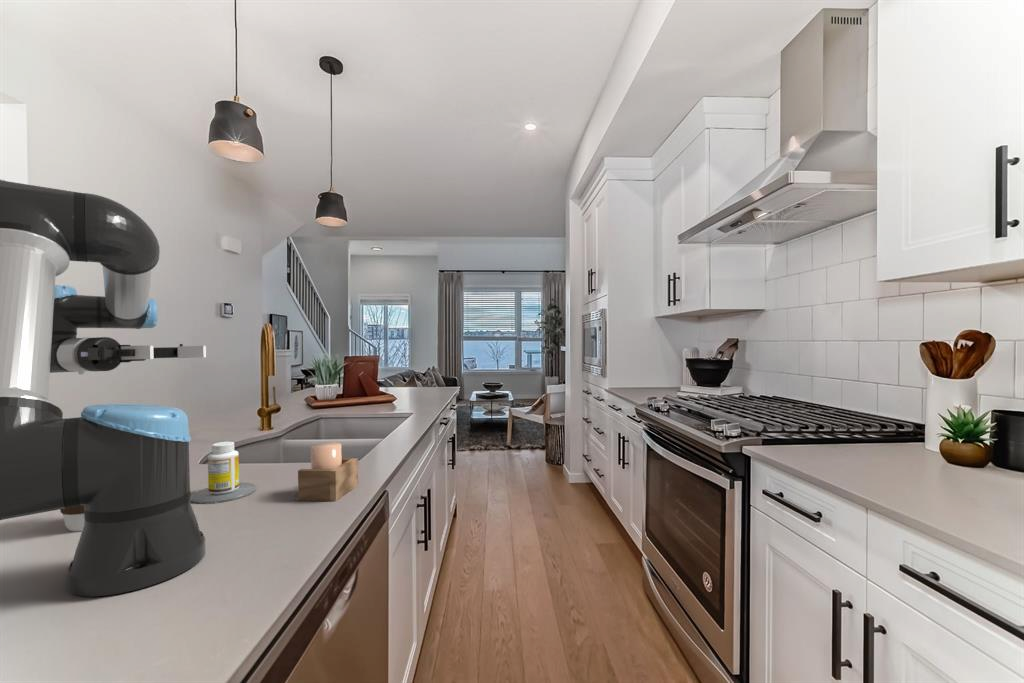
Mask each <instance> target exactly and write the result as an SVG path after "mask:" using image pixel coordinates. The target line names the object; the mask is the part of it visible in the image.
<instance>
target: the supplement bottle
mask: <svg viewBox="0 0 1024 683" xmlns="http://www.w3.org/2000/svg"><path fill="white" fill-rule="evenodd" d="M211 452H212V453H210V454H208V456H207V477H208V478H207V479H208V482H207V484H208V488H209V493H210V494H213V495H221V494H227V493H231V492H234V491H236V490H237V489H238V488H239V483H240V458H239V457H240V456H239V455H240V454H239V451H237V450H235V442H234V441H220V442H216V443H213V444H212V445H211Z"/></svg>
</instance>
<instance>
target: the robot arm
mask: <svg viewBox="0 0 1024 683" xmlns="http://www.w3.org/2000/svg"><path fill="white" fill-rule="evenodd" d="M160 252H161V251H160V245H159V240H158V238H157V236H156V234H155V233H154V231H153V230H152V228H151V227H150V226H149V225H148V224H147V222H145V221H144V219H143V218H142V217H140V216H139V215H138V214H137V213H135V212H134V211H132V209H130V208H128V207H127V206H126V205H124V204H122V203H120V202H118V201H115V200H113V199H111V198H108V197H105V196H102V195H100V194H99V195H98V194H93V193H88V192H87V193H86V192H79V191H78V192H77V191H72V190H66V189H60V188H59V189H58V188H53V187H47V186H41V185H33V184H26V183H20V182H14V181H8V180H5V179H0V521H3V520H10V519H14V518H20V517H26V516H30V515H31V516H32V515H37V514H41V513H46V512H52V511H58V510H60V509H65V508H69V507H75V506H81V505H84V528H83V531H81V535H80V537H79V540H78V542H77V545H76V546H77V547H76V549H75V553H74V556H73V560H72V561H71V562H70V563H69V566H68V568H67V572H66V590H67V591H68V593H70V594H72V595H76V596H80V597H104V596H111V595H117V594H118V595H119V594H123V593H129V592H132V591H133V592H134V591H135V590H140V589H144V588H147V587H150V586H154V585H157V584H159V583H162V582H164V581H168V580H169V579H172V578H174V577H177V576H178V575H180V574H183V573H185V572H186V571H189V570H190V569H192V568H194V566H196V565H197V564H199V563H200V561H202V560H203V558H204V557H205V555H206V538H205V535H204V533H203V531H201V529H200V527H199V524H198V520H197V517H196V515H195V513H194V510H193V507H192V505H191V503H192V502H191V501H190V496H191V477H190V476H191V474H190V473H191V472H190V471H191V470H190V442H191V440H192V436H190V429H189V418H188V416H187V415H188V414H186V412H185V411H184V410H182V409H180V408H178V407H174V406H169V405H168V406H167V405H156V404H139V403H138V404H137V403H135V404H133V403H132V404H130V403H109V404H92V405H86V406H84V407H83V409H82V411H81V412H80V417H71V418H63V415H64V414H63V412H64V411H63V409H62V407H61V406H60V405H59V404H57V403H55V402H53V401H51V400H50V399H49V392H50V390H49V388H50V374H52V373H55V374H56V373H77V372H78V373H77V374H78V375H84V374H85V372H110V371H112V370H114V369H116V368H118V367H119V365H121V363H131V362H142V361H143V362H144V361H146V360H153V359H173V358H174V359H193V358H194V359H195V358H197V359H198V358H207V345H183V343H179V346H176V347H171V346H169V347H154V345H131V344H120V343H119V342H118V341H117V339H114V338H112V337H106V336H102V337H99V336H98V337H97V336H96V337H78V336H77V335H78V332H77V331H78V329H133V330H134V329H135V330H140V329H152V328H156V326H157V325H158V302H157V301H156V299H154V298H150V289H151V276H152V270H153V269H154V268H155V267H156V266H157V265H158V263H159V261H160V254H161V253H160ZM70 261H71V262H82V263H83V262H84V263H89V262H90V263H98V264H100V265H101V266H102V274H103V288H104V295H103V296H98V295H86V294H85V295H84V294H78V293H77V289H76V288H75V287H73V286H69V285H61V284H58V285H57V284H56V277H58V276H60V275H62V274H63V273H65V272H66V271H67V269H68V268H69V266H70Z"/></svg>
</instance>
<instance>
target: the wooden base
mask: <svg viewBox="0 0 1024 683" xmlns="http://www.w3.org/2000/svg"><path fill="white" fill-rule="evenodd" d="M297 483H298V486H297V488H298V489H297V490H298V491H297V492H294V494H293V501H315V502H316V501H318V502H321V501H324V502H328V501H329V502H337V501H338V500H340V499H341V498H342V497H344V496H345V495H346V494H348V493H349V492H351V491H352V490H354V489H355V488H356V487H358V486H359V458H358V457H342V464H341V465H340V466H338V467H336V468H334V469H311V468H300V469H299V470H297Z"/></svg>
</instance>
